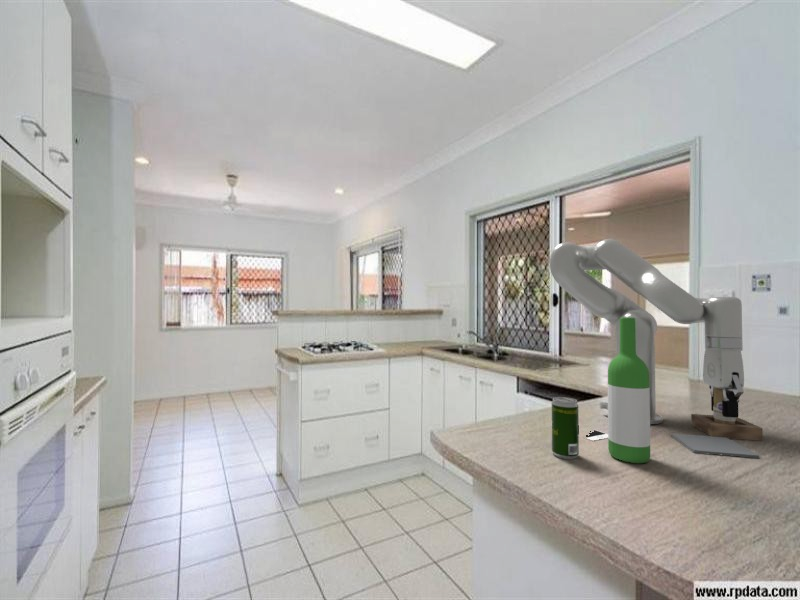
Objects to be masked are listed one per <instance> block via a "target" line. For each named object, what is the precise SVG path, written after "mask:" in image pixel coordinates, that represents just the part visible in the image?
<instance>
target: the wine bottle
mask: <svg viewBox="0 0 800 600" xmlns="http://www.w3.org/2000/svg"><path fill="white" fill-rule="evenodd" d="M607 403H608V410H607V434H608V439H607V441H608V442H607V443H608V446H607V447H608V452H609V454H610V456H611V457H612V458H614V459H616V460H618V459H619V461H621V460H622V461H621V462H625V463H629V462H631V463H630V464H644V463H645V464H646V463H647V462H649V461H650V459H651V424H650V387H649V371H648V368H647V366H646V364H645V363H644V362H643V360H642V359H640V358H639V357H638V356H637V355H636V333H635V318H620V353H619V355H618V356H617V355H616V356H615V357H613V359H611V361H610V362H609V365H608V368H607Z"/></svg>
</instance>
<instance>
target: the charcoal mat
mask: <svg viewBox="0 0 800 600" xmlns="http://www.w3.org/2000/svg"><path fill="white" fill-rule="evenodd" d="M669 436H670V437H672V438H673V439H675V440H676V441H677V442H679V443H680V444H681V445H683V446H684V447H685V448H687V449H688V450H689V449H690V451H691V452H692V453H694V454H701V453H709V454H708V455H713V454H722V455H721V456H725V455H733V456H732V457H736V456H741V457H740V458H748V457H750V459H751V458H752V459H760V455H758V454H757V453H755V452H753V451H752V450H750V449H748V448H747V447H745V446H743V445H741V444H739V443H737V442H736V441H734V440H732V439H731V438H726V437H713V436H710V435H697V434H683V433H670V435H669Z"/></svg>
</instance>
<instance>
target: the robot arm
mask: <svg viewBox="0 0 800 600" xmlns="http://www.w3.org/2000/svg"><path fill="white" fill-rule="evenodd" d="M549 270H550V273H551V275H552V278H553V280H554V281H555V282H556V284H558V286H559V287H561V289H563V290H564V291H565V292H566V293H568V294H569V295H570V296H572V297H573V299H575V300H576V301H577V302H578V303H580V304H581V305H582V306H584V307H585V308H586V309H587V310H589V312H590V313H592V314H593V315H594V316H596V317H598V318H600V319H604V320H606V321H607V322H608V323H609V324H611V325H612V326H614V327H615V329H614V330H615V332H614V334H615V342H616V356H618V355H619V353H620V318H635V333H636V355H637V356H638V357H639V358H640V359H642V360H643V362H644V363H645V364H646V366H647V368H648V371H649V387H650V425H658V424H661V423H663V417H662V416H661V415H660V414H657V410H656V408H657V407H656V355H655V354H656V352H655V351H656V349H655V334H656V333H657V331H658V323H657V320H656V318H655V316H653V315H652V314H651V313H649V311H647V310H645V309H644V308H643V307H641V306H640V305H639V304H637V303H636V302H635V301H633V300H631V299H630V298H629V297H627V296H626V295H625V294H623V292H620V291H618V290H616V289H613V288H610V287H608V286H606V285H605V284H603V283H601V282H600V281H599V280H597V279H596V278H595V277H593V275H590V274H589V273H588V272H587V271H600V270H601V271H602V270H606V271H607V272H609V273H610V274H612V275H613V276H614V277H615V278H617V279H618V280H619V281H621V282H622V283H623V284H625V286H627V287H629V288H630V289H631V290H632V291H634V292H635V293H636V294H638V295H640V296H641V297H643V298H644V299H645V300H646V301H648V302H649V303H650V304H652V305H653V306H654V307H655V308H657V309H658V310H660V311H661V312H662V313H664V314H665V315H666V316H667V317H668V318H670V319H671V320H672V321H674V322H675V323H678V324H681V325H692V324H699V323H701V324H702V323H704V349H705V350H704V355H703V364H702V365H703V368H702V381H703V382H704V384H706V385H708V386H709V389H710V392H709V394H710V396H711V400H710V401H711V403H710V405H711V411H712V412H713V406H714V388H713V387H716V388H719V389H723V396H724V401H722V415H723V416H724V417H735V418H737V417H738V418H739V403H740V397H741V396H742V395H743V394H744V386H745V375H744V374H745V370H744V360H743V355H742V352H743V350H744V349H743V343H744V342H743V305H742V303H743V302H742V300H741V299H740V298H739V297H735V296H712V297H707V298H702V297H694V296H693V295H692V294H690V292H688V291H686V290H685V289H683V288H681V286H679V285H678V284H676V283H675V282H673V281H672V280H671V279H669V278H668V277H667V276H666V275H664V274H663V273H662V272H661V271H660V270H659V269H658V268H656V267H655V266H654V265H653V264H652V263H650V262H648V261H647V260H646V259H644V258H642V257H641V256H640V255H639V254H637V253H636V252H634V251H633V250H631V249H630V248H629V247H628V246H626V245H624V244H623V243H621V242H620V241H618V240H617V239H615V238H614V239H613V238H606V239H603V240H601V241H598V243H597V244H594V245H581V246H580V245H579V244H576V243H574V242H571V241H569V242H568V241H566V242H561V243H559V244H557V245H556V246H554V248H553V249H552V251H551V254H550V257H549ZM729 386H733V389H727V388H728V387H729ZM728 391H733V392H730V393H729V395H728ZM599 409H601V410H607V411H608V401H606V402H603V401H602V402H601V401H600V402H599Z"/></svg>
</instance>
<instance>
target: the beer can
mask: <svg viewBox="0 0 800 600" xmlns="http://www.w3.org/2000/svg"><path fill="white" fill-rule="evenodd" d="M551 421H552V426H551V452H552V454H553V456H555V457H557V458H559V459H562V458H563V459H564V460H576V459H577V458H578V456H579V455H580V454H579V452H580V450H579V449H580V448H579V447H580V445H579V444H580V443H579V439H580V438H579V425H580V424H579V404H578V399H576V398H571V397H564V396H557V397H552V402H551ZM563 459H562V460H563Z"/></svg>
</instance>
